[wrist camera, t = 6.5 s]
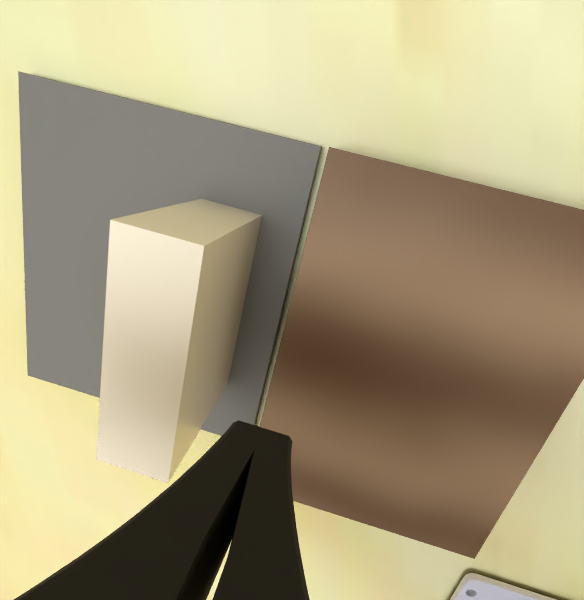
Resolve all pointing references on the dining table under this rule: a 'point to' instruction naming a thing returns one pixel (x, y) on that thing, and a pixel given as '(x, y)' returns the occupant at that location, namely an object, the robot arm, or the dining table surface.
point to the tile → (169, 328)
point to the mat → (136, 199)
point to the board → (426, 348)
